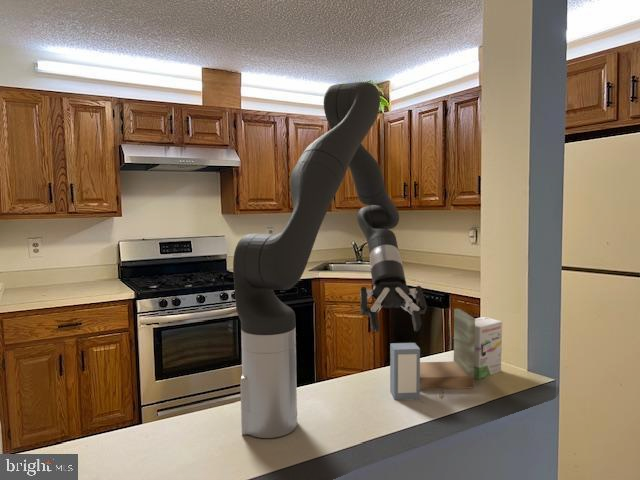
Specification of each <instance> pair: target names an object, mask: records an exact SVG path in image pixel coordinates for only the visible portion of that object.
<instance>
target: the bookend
mask: <svg viewBox="0 0 640 480" xmlns="http://www.w3.org/2000/svg"><path fill="white" fill-rule="evenodd" d="M453 310H454V311H453V312H454V313H453V360H452V361H425V362H424V361H422V362H421V361H420V391H421V390H443V389H444V390H448V389H474V388H475V378H474V349H475V319H476V318H475V317H473V316H472V315H471V314H468V313H467V312H466V311H464V310H463V309H461V308H454V309H453Z"/></svg>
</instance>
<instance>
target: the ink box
mask: <svg viewBox="0 0 640 480" xmlns="http://www.w3.org/2000/svg"><path fill="white" fill-rule="evenodd" d="M502 338H503V321H502V320H498V319H494V318H491V317H487V316H481V317H477V318H475V349H474V379H477V380H482V379H485V378H487V377H489V376H492V375H494V374H497V373H500V372H502V353H503V352H502V350H503V347H502V346H503V345H502V343H503V339H502Z"/></svg>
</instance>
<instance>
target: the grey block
mask: <svg viewBox="0 0 640 480" xmlns="http://www.w3.org/2000/svg"><path fill="white" fill-rule="evenodd" d="M389 344H390V345H389V349H390V351H389V354H390V355H389V358H390V360H389V361H390V362H389V365H390V366H389V382H390V383H389V384H390V385H389V386H390V387H389V391H390V395H391V397H392V398H393V400H394V401H399V400H400V401H403V400H420V397H421V395H420V394H421V390H420V362H421V348H420V346H418V345H417V343H416V342H395V343H393V342H392V343H389Z"/></svg>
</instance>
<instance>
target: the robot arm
mask: <svg viewBox="0 0 640 480" xmlns="http://www.w3.org/2000/svg"><path fill="white" fill-rule="evenodd" d="M380 104H381V95H380V92H379V89H378V88H377V86H376V85H375V84H374V83H371V82H365V81H358V82H357V81H356V82H355V81H354V82H347V83H336V84H333V85H330V86H329V87H327V89H326V91H325V93H324V96H323V111H324V114H325V119H326V121H327V123H328V126H329V128H330V129H329V130H328V131H326V132H325V133H324V134H322V135H320V136H319V137H318V138H317V139H315V140H314V141H313V142H311V143H310V144H309V145H308V146H307V147H306V148H305V149H304V151H303V152H302V153H301V156H300V157H299V158H298V161H297V162H296V164H295V166H294V167H293V169H292V171H291V175H290V178H289V188H290V190H289V191H290V197H291V200H292V204H293V205H292V206H293V207H292V213H291V215H290V217H289V219H288V222H287V223H286V225H285V226H284V228H283V230H281V232H279V233H247V234H246V235H244V236H241V238H240V239H239V241H238V242H237V245H236V246H235V249H234V253H233V261H232V271H233V272H232V273H233V284H234V285H233V288H234V298H235V309H236V313H237V315H238V318H239V320H240V333H241V335H240V337H241V339H240V340H241V372H242V374H241V377H240V416H241V417H240V418H241V420H240V421H241V435H249V436H252V437H254V438H255V437H256V438H260V439H261V438H262V439H273V438H274V439H275V438H279V437H284V436H286V435H288V434H290V433H292V432H294V430H296V429H297V426H298V403H297V401H298V398H297V397H298V394H297V390H298V388H297V339H296V338H297V337H296V336H297V333H296V330H297V329H296V327H297V326H296V325H297V323H296V313H295V311H294V310H293V309H292V308H291V307H290V306H289V305H286V304H285V303H284V302H282V301H281V300H280V299H279V297H278V296H277V295H276V293H275V292H274V290H276V291H287V290H290V289H292V288H293V287H295V286H297V284H298V282H299V281H300V280H301V278H302V276H303V274H304V272H305V270H306V267H307V265H308V262H309V259H310V257H311V254H312V250H313V248H314V245H315V243H316V240H317V236H318V234H319V230H320V229H321V226H322V223H323V221H324V219H325V217H326V214H327V212H328V210H329V208H330V205H331V203H332V202H333V199H334V198H335V196H336V195H337V192H338V190H339V188H340V186H341V183H342V182H343V180H344V178H345V175H346V173H347V171H348V169H349V170H350V173H351V176H352V179H353V184H354V187H355V190H356V194H357V198H358V201H359V202H360V203H362V204H363V205H365V206H362V207H361V208H360V209H359V210H358V213H357V215H356V221H357V223H358V226H359V228H360V230H361V231H362V234H363V235H364V236H365V237H364V238H365V239H366V242H367V246H368V251H369V271H370V276H371V281H372V282H371V283H372V289H370V288H369V289H367V288H366V286H362V287H360V293H359V301H360V303H359V305H360V314H361V315H362V316H368V317H369V321H370V322H369V323H370V328H371V330H373V331H374V332H375V333H379V331H380V323H379V315H378V312H380V310H381V309H382V308H383V307H384V308H385V309H391V308H395V309H399V308H400V307H401V309H403V310H404V311H405V312H408V313H409V314H410V315H411V322H412V325H413V330H414V332H419V330H420V329H421V327H422V324H423V323H422V318H421V315H425V314H426V310H427V308H428V305H427V302H426V298H425V294H424V292H423V291H424V290H423V288H422V286H420V285H417V286H416V287H415V288H413V287H412V288H410V287H408V284H407V280H406V276H405V270H404V266H403V262H402V261H403V260H402V257H401V254H400V251H399V245H398V241H397V237H396V235H395V233H394V232H393V231H392V230H391V229H395V228H396V227H397V226H398V224H399V221H400V213H399V210H398V208H397V207H396V205H395V203H394V202H393V200H391V198H390V195H389V194H388V191H387V188H386V186H385V185H386V184H385V180H384V177H383V173H382V172H383V171H382V169H381V167H380V165H379V163H378V161H377V160H376V158H375V157H374V156H373V155H372V154H371V153H370V152H369V151H368V150H367V149H366V148H365V146H364V145H363V144H362V142H363V141H364V139H365V138H366V136H367V135H368V133H369V132H370V130H371V128H372V127H373V125H374V124H375V122H376V119H377V118H378V115H379V111H380V108H381V105H380ZM410 295H411V296H412V297H413V298H411V297H410ZM371 296H372V298H373V299H375V302H374V303H373V305H372V306H371V307H370V306H368V300H369V299H370V297H371ZM413 299H414V300H415V301H416V303H414V302H413Z"/></svg>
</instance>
